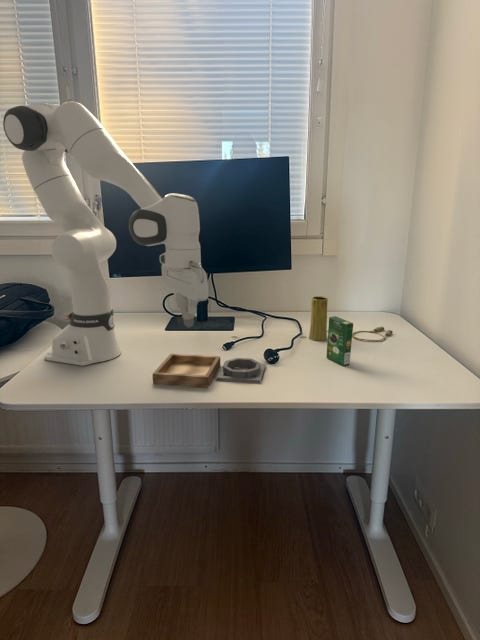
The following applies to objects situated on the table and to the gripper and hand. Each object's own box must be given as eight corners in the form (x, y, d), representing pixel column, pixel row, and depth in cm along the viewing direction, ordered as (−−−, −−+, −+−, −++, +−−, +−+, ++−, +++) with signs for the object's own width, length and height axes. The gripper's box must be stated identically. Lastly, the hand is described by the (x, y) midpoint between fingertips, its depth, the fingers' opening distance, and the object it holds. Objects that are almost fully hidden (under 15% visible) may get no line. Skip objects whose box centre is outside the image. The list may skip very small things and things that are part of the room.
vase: (319, 342, 148) (321, 301, 144) (305, 337, 152) (306, 297, 148) (330, 338, 152) (332, 298, 148) (316, 334, 156) (318, 295, 152)
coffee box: (351, 365, 128) (354, 322, 125) (343, 367, 127) (346, 323, 123) (333, 356, 135) (335, 315, 132) (325, 358, 134) (328, 316, 130)
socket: (216, 380, 119) (216, 371, 118) (225, 363, 130) (225, 355, 129) (260, 383, 117) (260, 374, 116) (265, 366, 128) (265, 358, 127)
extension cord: (403, 341, 150) (403, 335, 149) (360, 344, 147) (360, 339, 146) (384, 330, 161) (385, 325, 161) (344, 333, 158) (345, 328, 158)
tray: (153, 384, 116) (152, 373, 116) (171, 363, 131) (170, 353, 130) (208, 388, 114) (208, 377, 113) (220, 366, 128) (220, 356, 127)
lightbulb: (174, 330, 117) (170, 290, 113) (182, 323, 122) (179, 284, 119) (195, 331, 115) (192, 290, 112) (203, 324, 121) (200, 285, 117)
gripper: (214, 263, 106) (215, 318, 110) (177, 253, 123) (180, 301, 127) (190, 265, 103) (193, 322, 107) (156, 255, 120) (159, 304, 124)
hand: (185, 310), depth 117 cm, fingers closed on lightbulb, 5 cm apart
